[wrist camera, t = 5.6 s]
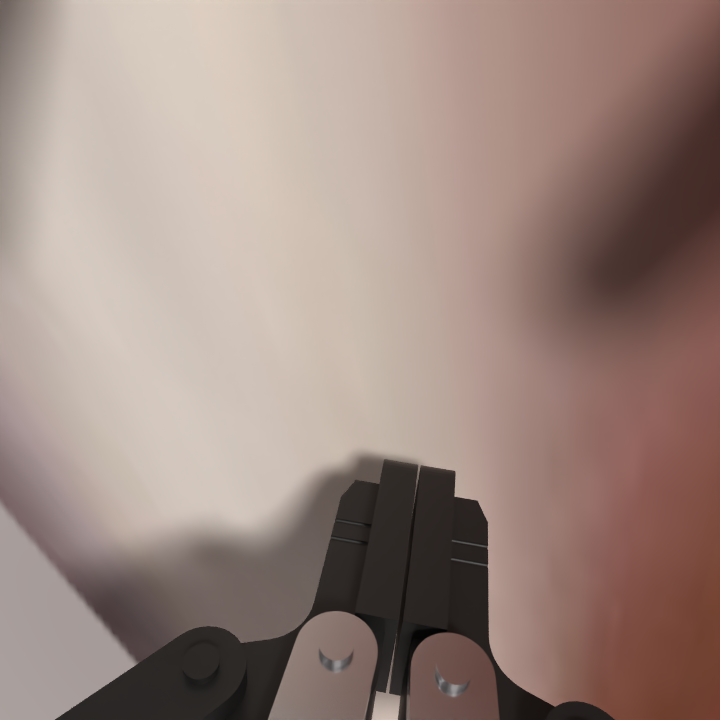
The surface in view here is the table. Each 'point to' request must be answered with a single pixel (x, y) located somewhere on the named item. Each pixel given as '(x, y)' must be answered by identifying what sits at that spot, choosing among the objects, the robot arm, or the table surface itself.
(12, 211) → the table surface
